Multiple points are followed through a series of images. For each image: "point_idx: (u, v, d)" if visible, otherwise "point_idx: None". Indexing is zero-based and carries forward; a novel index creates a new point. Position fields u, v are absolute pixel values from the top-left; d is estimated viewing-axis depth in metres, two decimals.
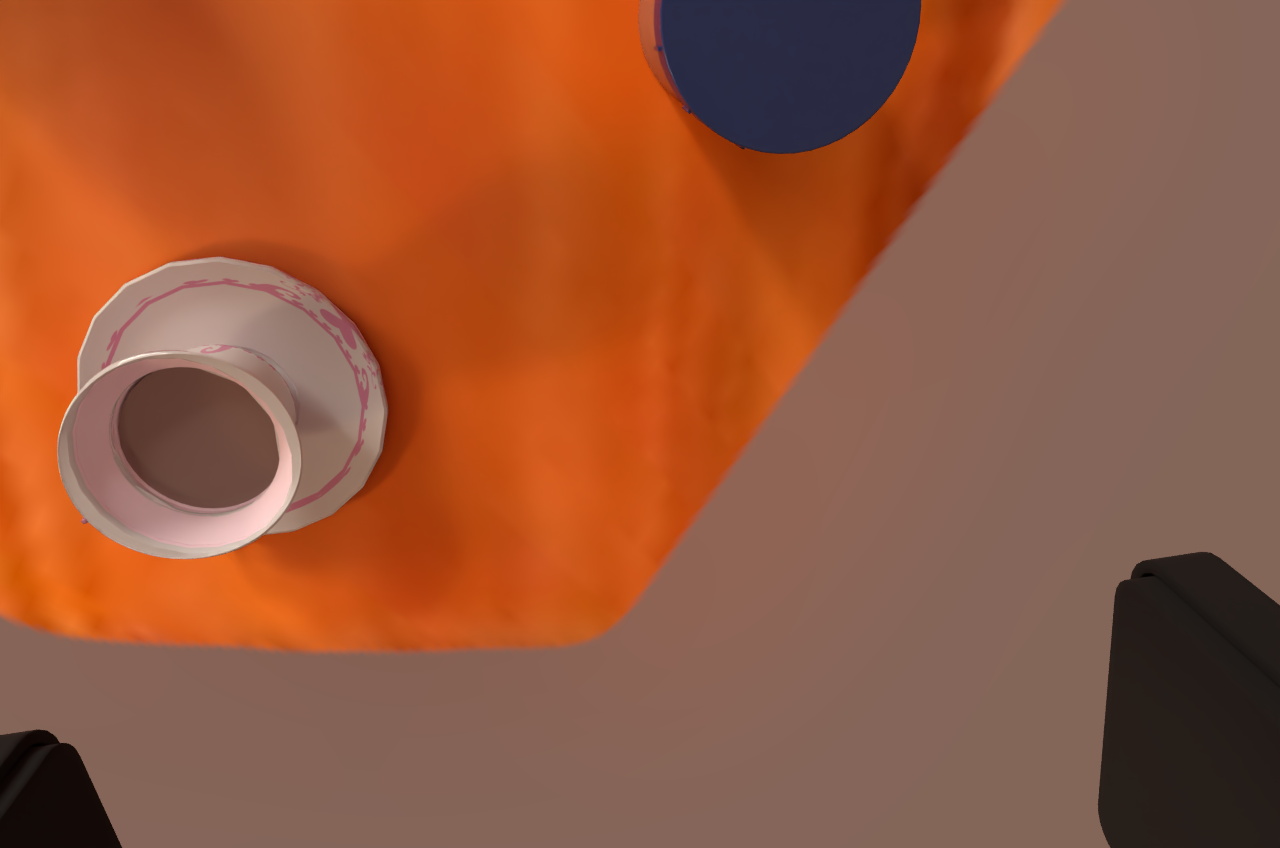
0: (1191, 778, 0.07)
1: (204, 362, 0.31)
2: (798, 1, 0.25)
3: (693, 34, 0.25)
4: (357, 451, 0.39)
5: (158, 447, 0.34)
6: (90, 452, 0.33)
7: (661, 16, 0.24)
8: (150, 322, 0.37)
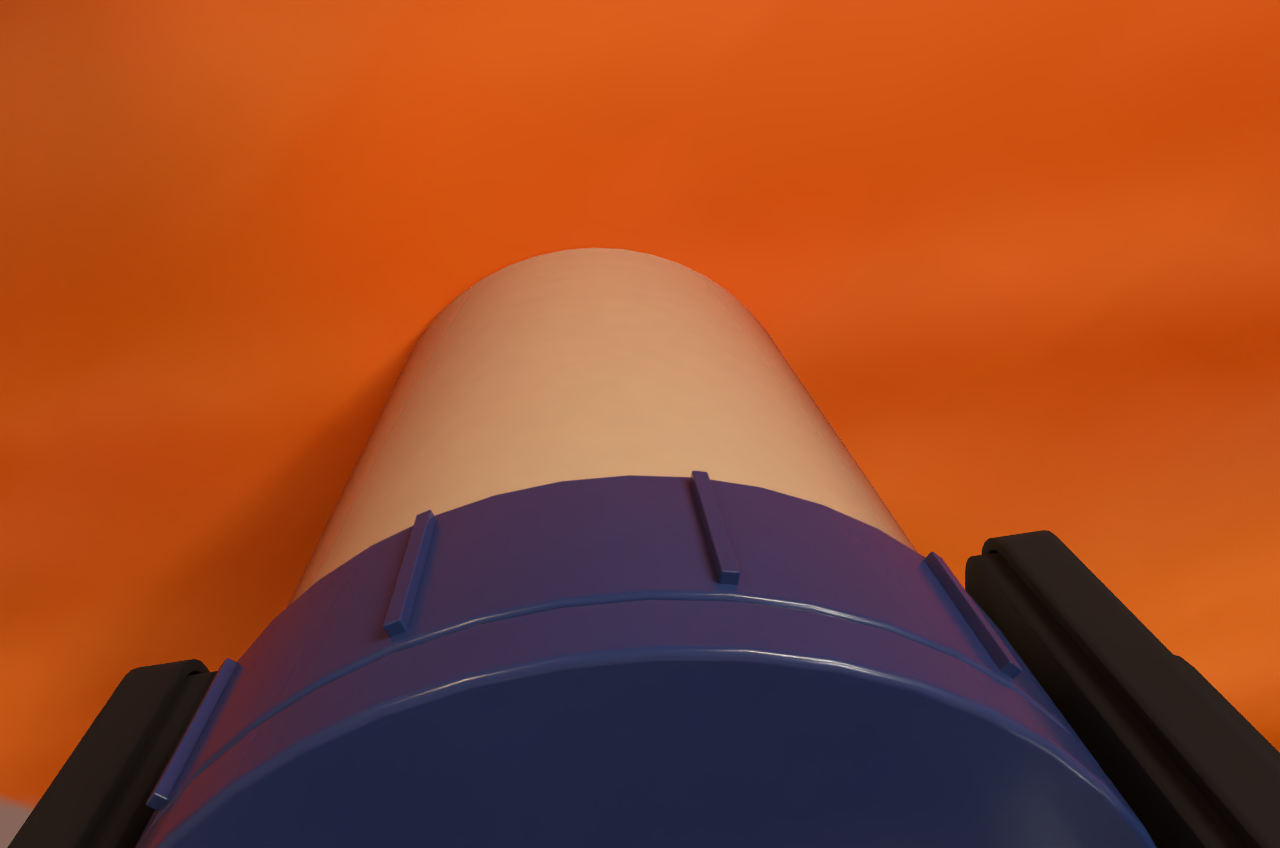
0: None
1: None
2: None
3: (488, 822, 0.05)
4: None
5: None
6: None
7: (538, 670, 0.04)
8: None
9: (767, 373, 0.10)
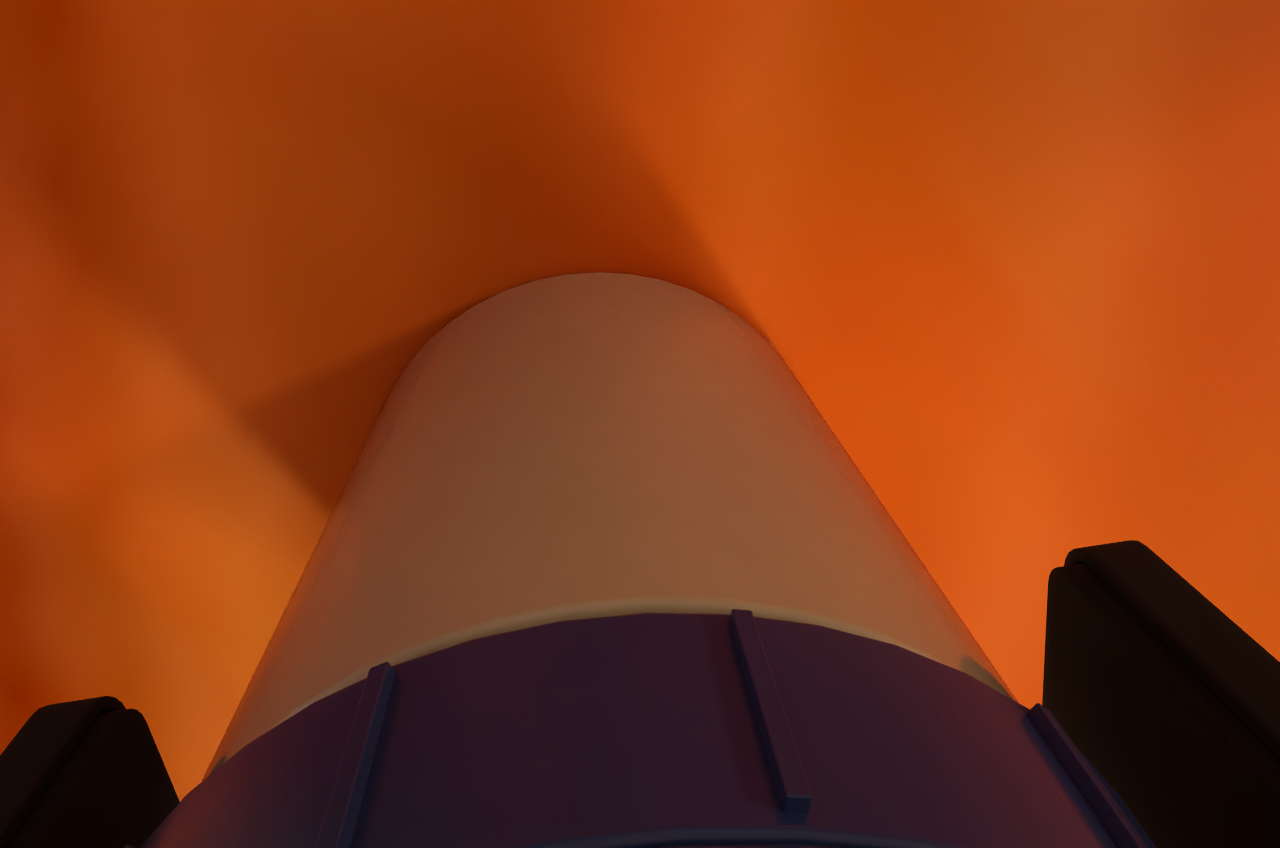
0: (1115, 757, 0.08)
1: None
2: None
3: None
4: None
5: None
6: None
7: None
8: None
9: None
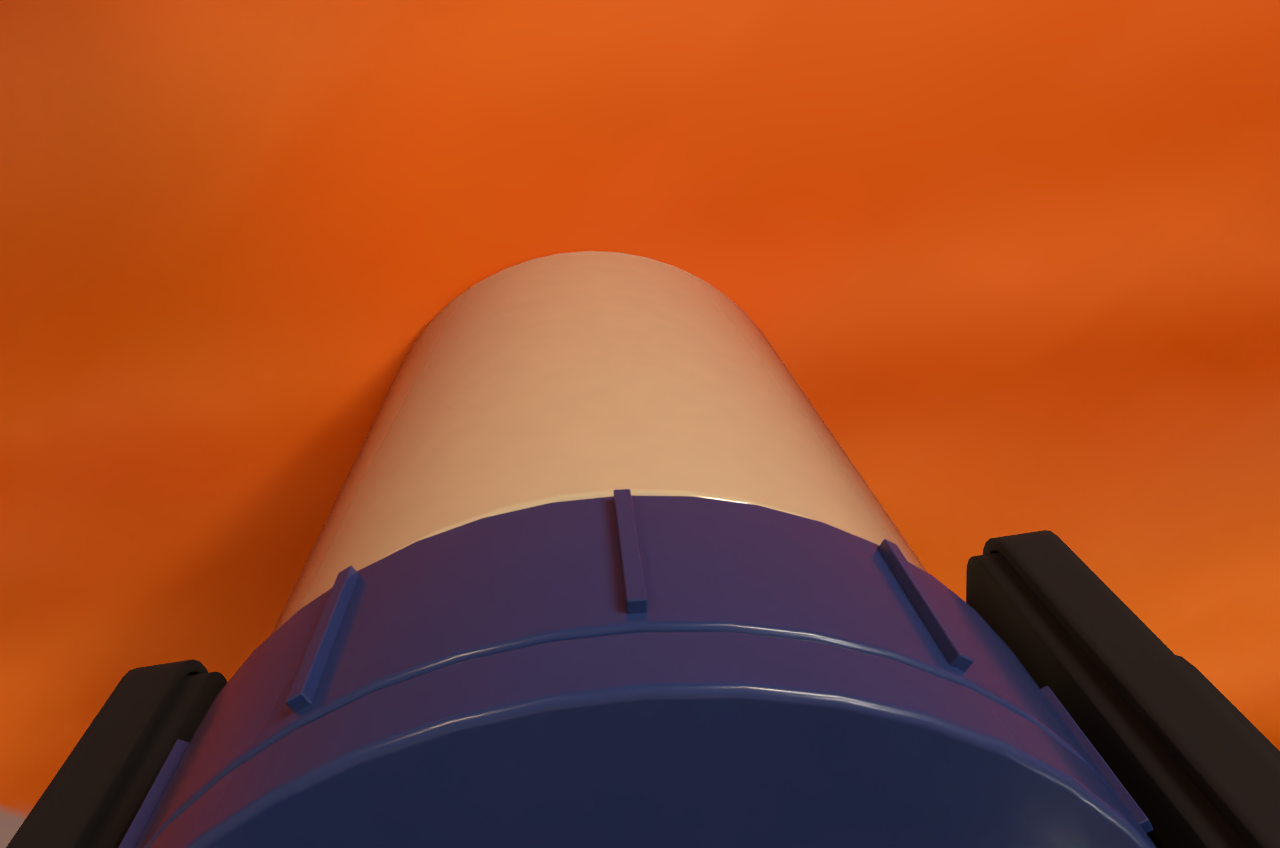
0: None
1: None
2: None
3: None
4: None
5: None
6: None
7: None
8: None
9: (765, 378, 0.10)
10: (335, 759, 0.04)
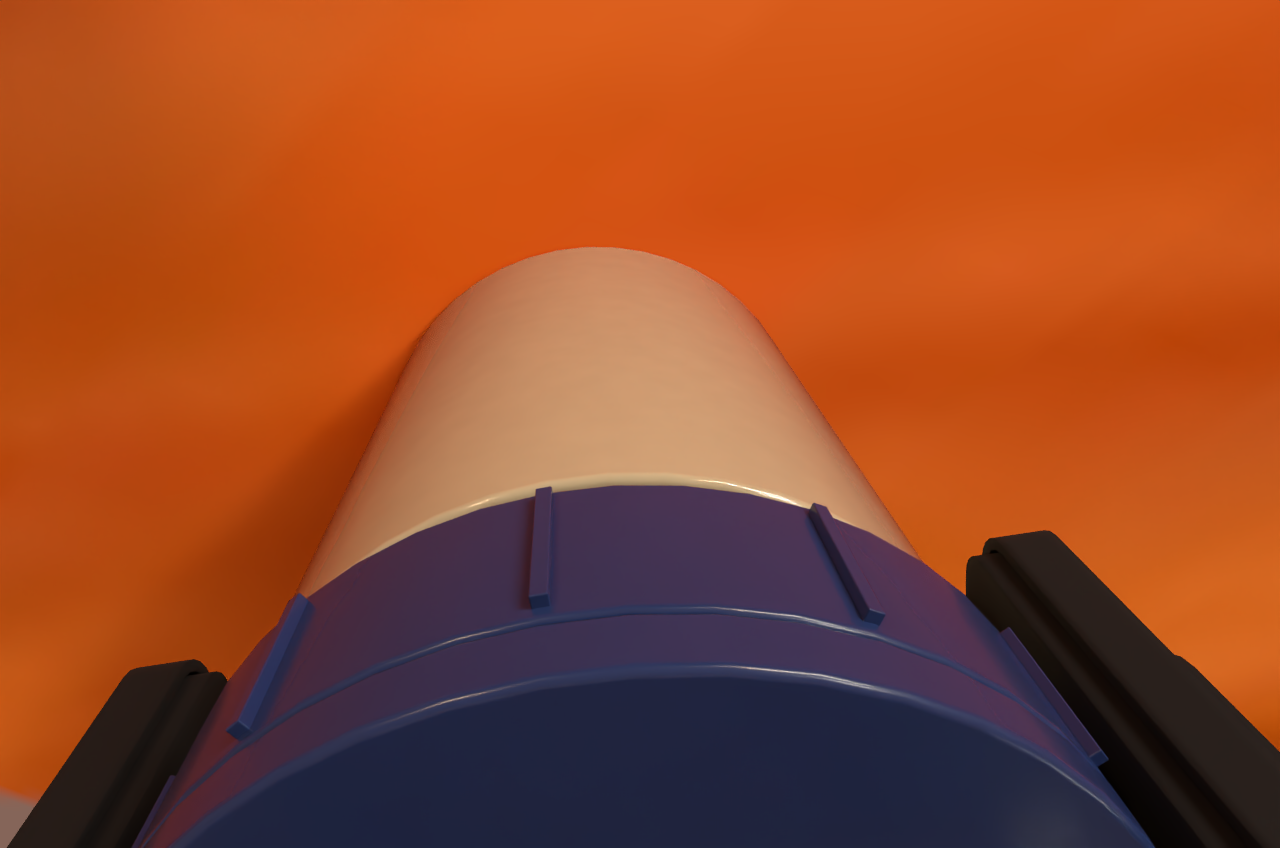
0: None
1: None
2: None
3: None
4: None
5: None
6: None
7: None
8: None
9: (755, 364, 0.10)
10: None
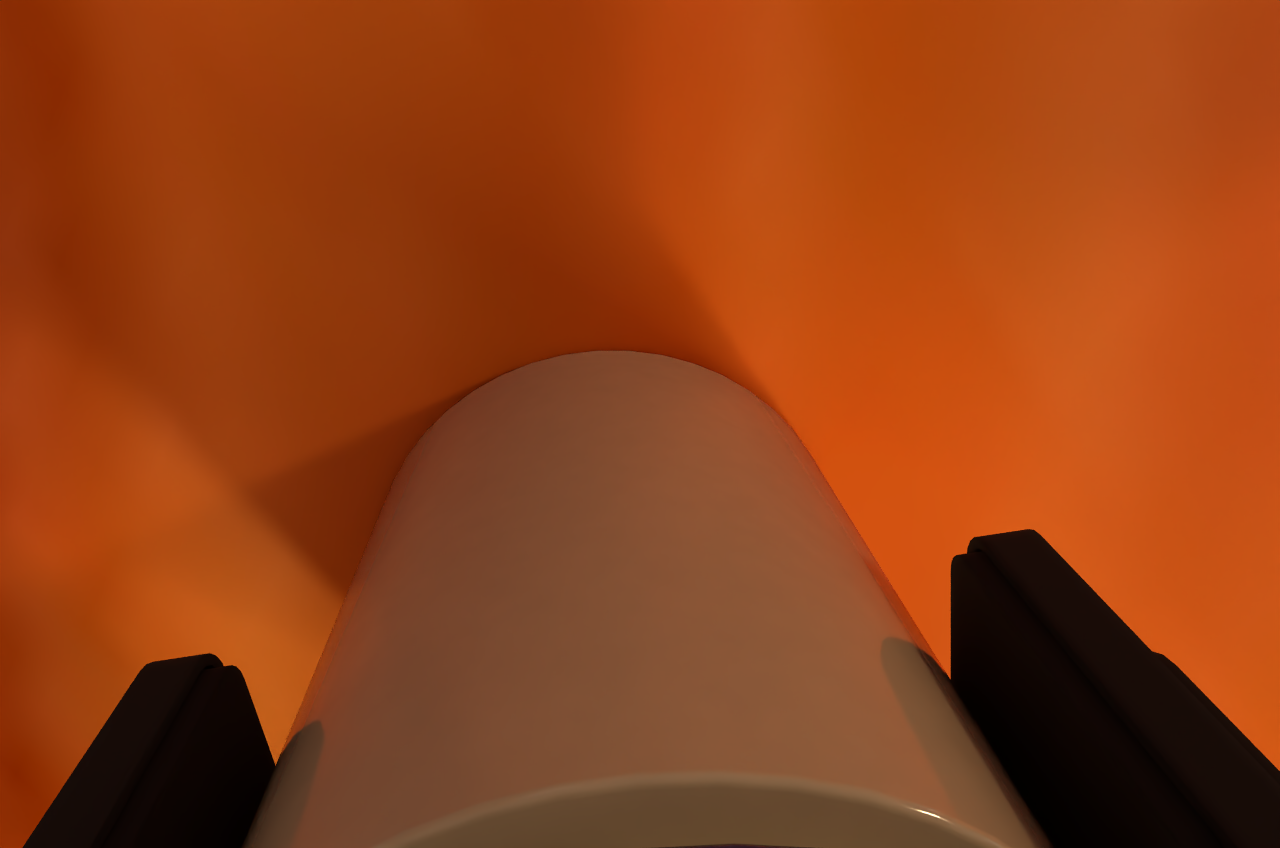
0: (1005, 735, 0.08)
1: None
2: None
3: None
4: None
5: None
6: None
7: None
8: None
9: None
10: None
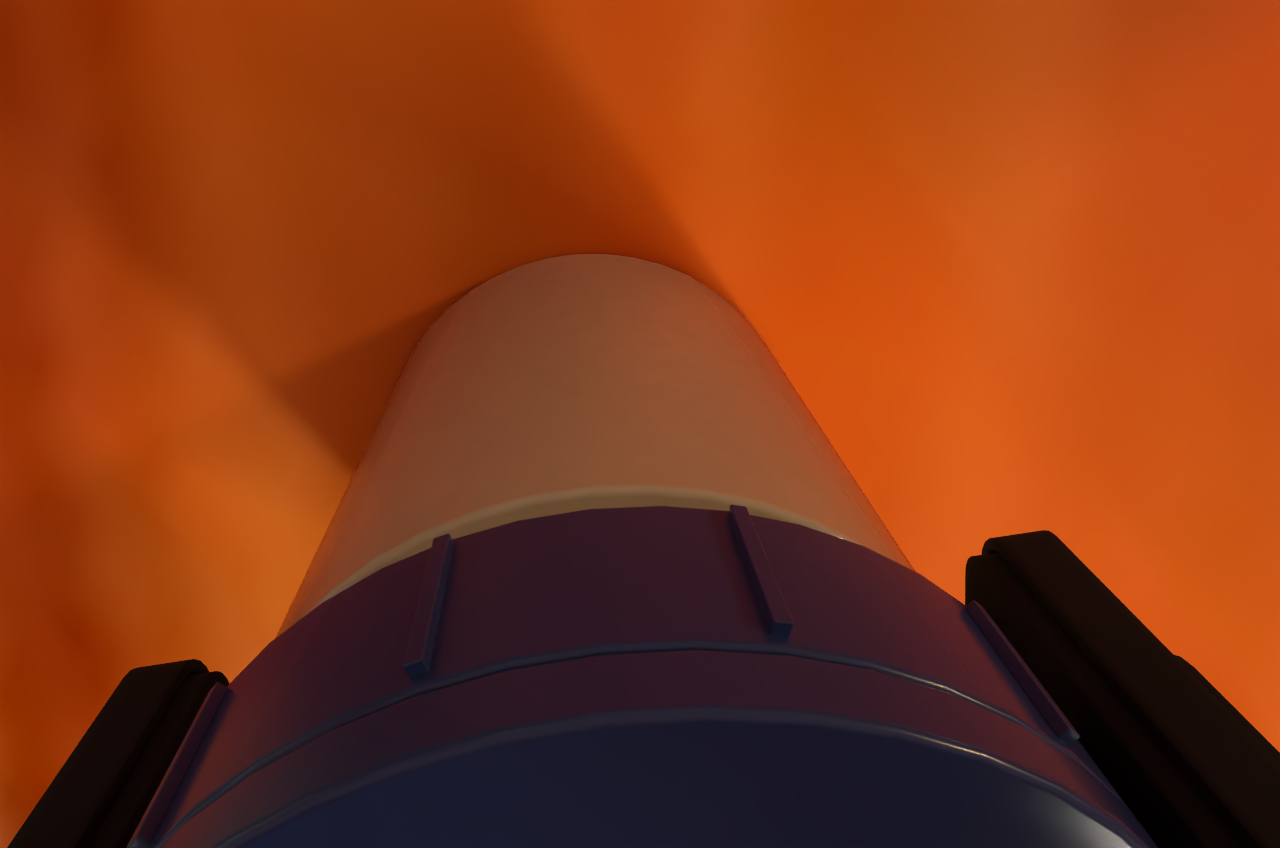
0: None
1: None
2: None
3: None
4: None
5: None
6: None
7: None
8: None
9: None
10: None
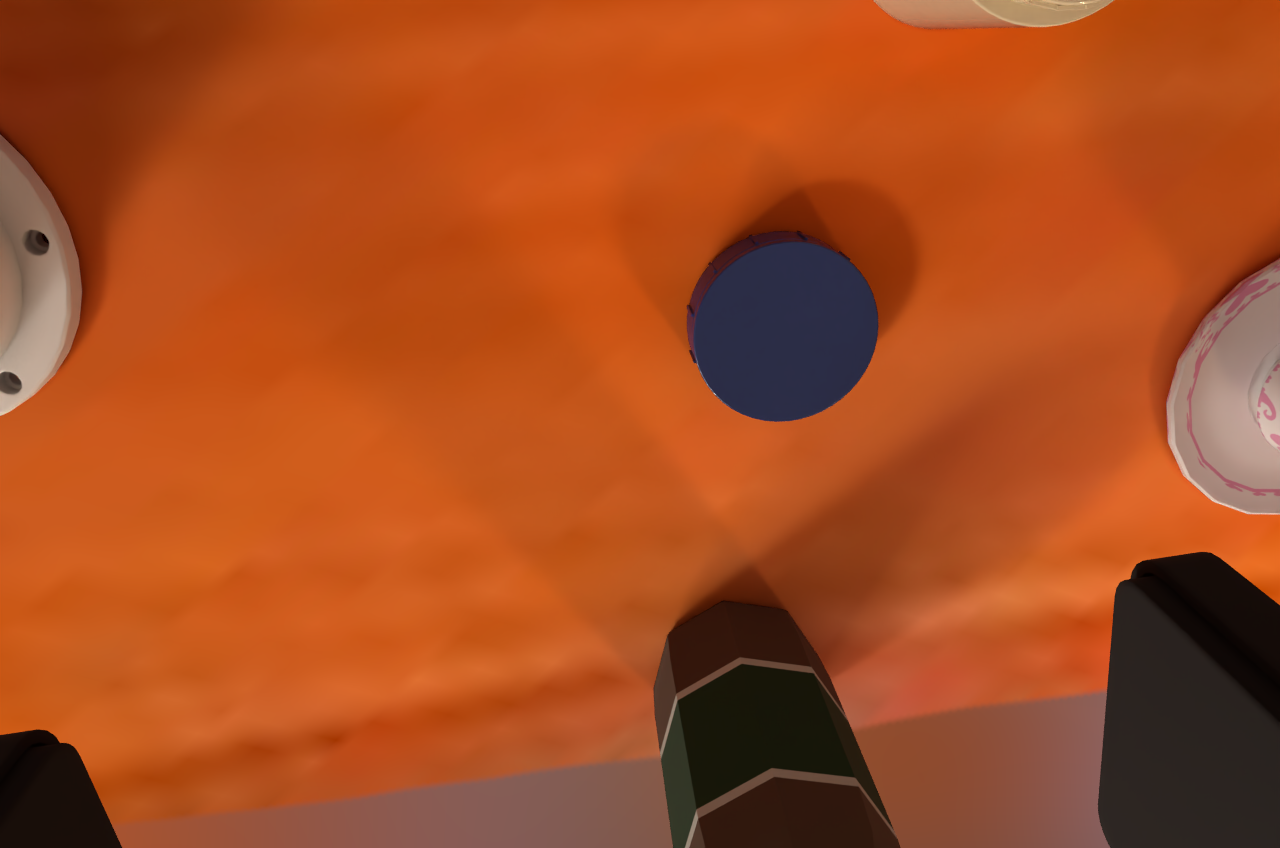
0: (1191, 778, 0.07)
1: None
2: (788, 345, 0.35)
3: (839, 284, 0.34)
4: None
5: None
6: None
7: (865, 280, 0.34)
8: (1219, 457, 0.40)
9: (946, 19, 0.29)
10: (843, 395, 0.36)
